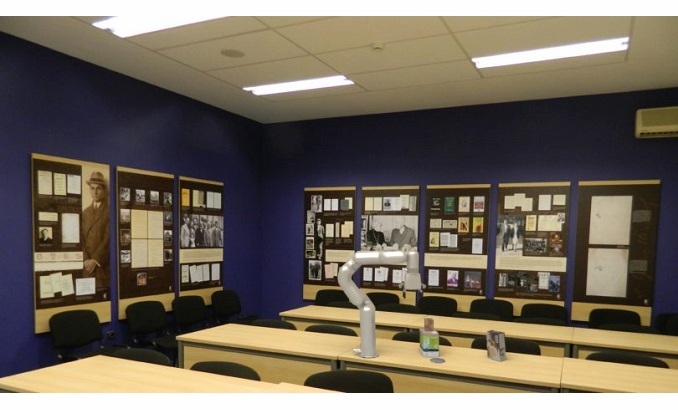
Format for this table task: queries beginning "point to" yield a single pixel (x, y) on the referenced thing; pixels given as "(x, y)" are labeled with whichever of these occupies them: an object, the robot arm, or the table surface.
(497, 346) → the coffee box
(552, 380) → the table surface
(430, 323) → the block
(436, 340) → the tea box
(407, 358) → the table surface
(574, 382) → the table surface
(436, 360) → the coaster
